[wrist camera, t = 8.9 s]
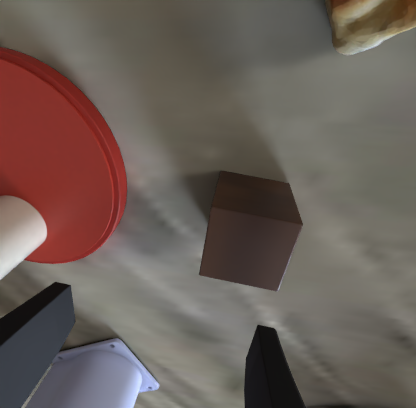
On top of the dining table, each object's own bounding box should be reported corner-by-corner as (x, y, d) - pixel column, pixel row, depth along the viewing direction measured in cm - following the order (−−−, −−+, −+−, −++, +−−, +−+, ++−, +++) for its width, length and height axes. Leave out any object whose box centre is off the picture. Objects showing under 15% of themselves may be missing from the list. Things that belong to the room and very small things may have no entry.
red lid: (128, 69, 15) (118, 69, 14) (126, 270, 22) (119, 282, 21) (-145, 21, 16) (-178, 18, 15) (-63, 230, 23) (-81, 240, 22)
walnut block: (210, 227, 19) (198, 275, 15) (220, 169, 17) (210, 206, 13) (271, 239, 19) (278, 292, 15) (289, 182, 17) (303, 224, 13)
